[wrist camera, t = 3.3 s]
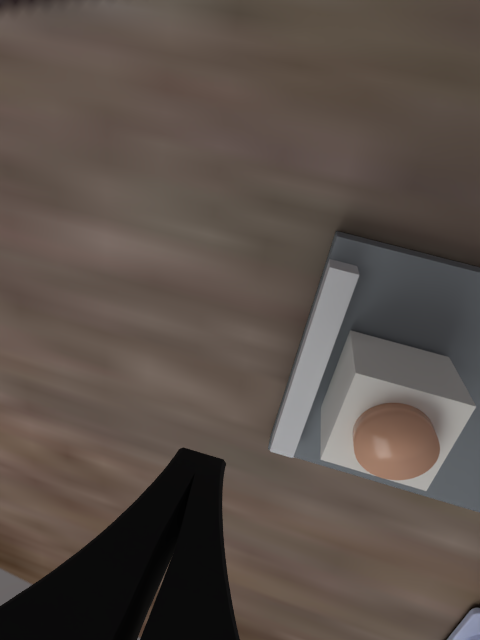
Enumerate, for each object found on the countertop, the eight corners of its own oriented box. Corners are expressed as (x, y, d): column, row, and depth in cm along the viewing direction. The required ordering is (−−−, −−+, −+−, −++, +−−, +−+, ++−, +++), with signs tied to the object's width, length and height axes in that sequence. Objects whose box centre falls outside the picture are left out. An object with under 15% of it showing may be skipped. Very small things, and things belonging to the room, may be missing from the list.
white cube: (449, 356, 18) (483, 420, 14) (409, 432, 20) (430, 507, 16) (350, 330, 18) (357, 385, 14) (320, 407, 20) (320, 474, 16)
